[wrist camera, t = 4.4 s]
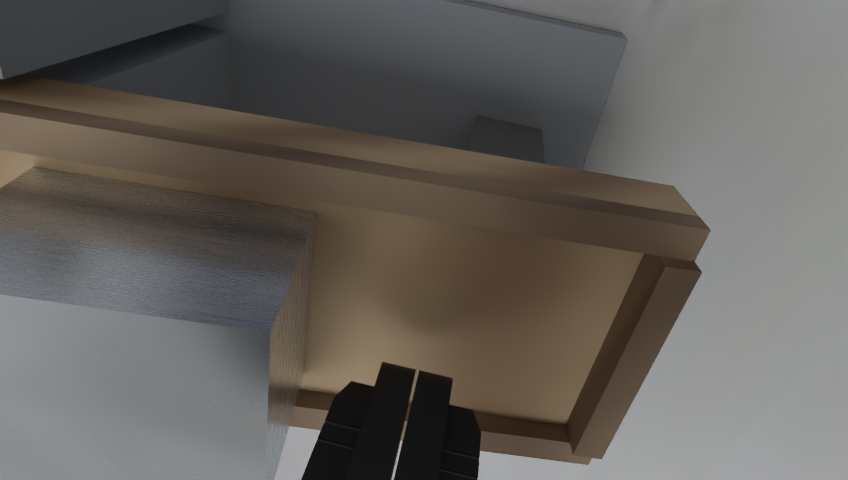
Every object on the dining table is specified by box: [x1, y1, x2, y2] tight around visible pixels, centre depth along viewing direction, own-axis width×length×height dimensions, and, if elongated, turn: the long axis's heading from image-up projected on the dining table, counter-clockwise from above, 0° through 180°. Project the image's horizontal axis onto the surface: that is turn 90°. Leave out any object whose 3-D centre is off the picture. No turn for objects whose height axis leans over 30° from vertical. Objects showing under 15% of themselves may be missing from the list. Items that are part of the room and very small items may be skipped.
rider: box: [0, 167, 317, 480], centre depth 11 cm, size 6×5×4 cm
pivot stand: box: [0, 0, 627, 170], centre depth 18 cm, size 30×14×11 cm, turn 80°
